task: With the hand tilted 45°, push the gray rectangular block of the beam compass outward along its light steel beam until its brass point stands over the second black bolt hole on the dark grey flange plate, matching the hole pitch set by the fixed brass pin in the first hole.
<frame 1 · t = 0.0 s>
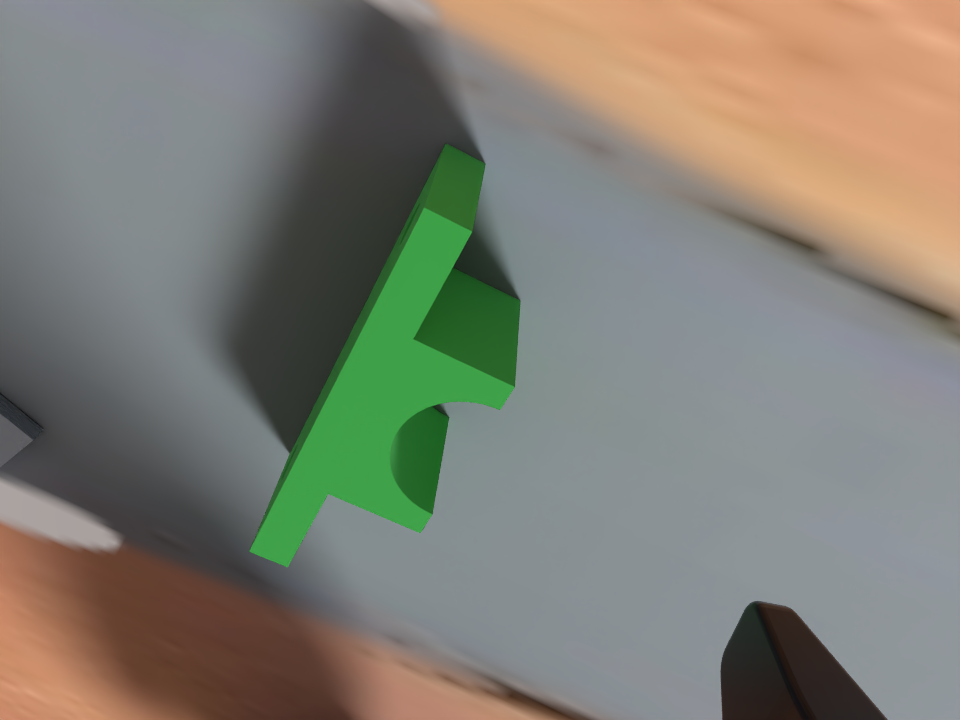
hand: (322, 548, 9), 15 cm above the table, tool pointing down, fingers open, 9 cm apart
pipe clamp: (415, 338, 25), on the table
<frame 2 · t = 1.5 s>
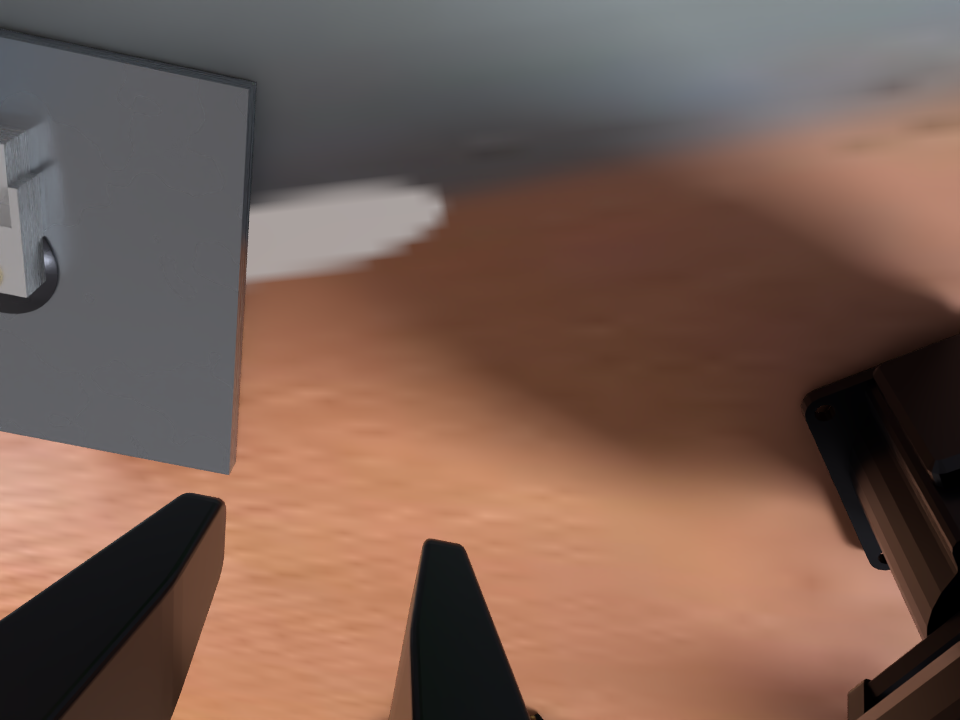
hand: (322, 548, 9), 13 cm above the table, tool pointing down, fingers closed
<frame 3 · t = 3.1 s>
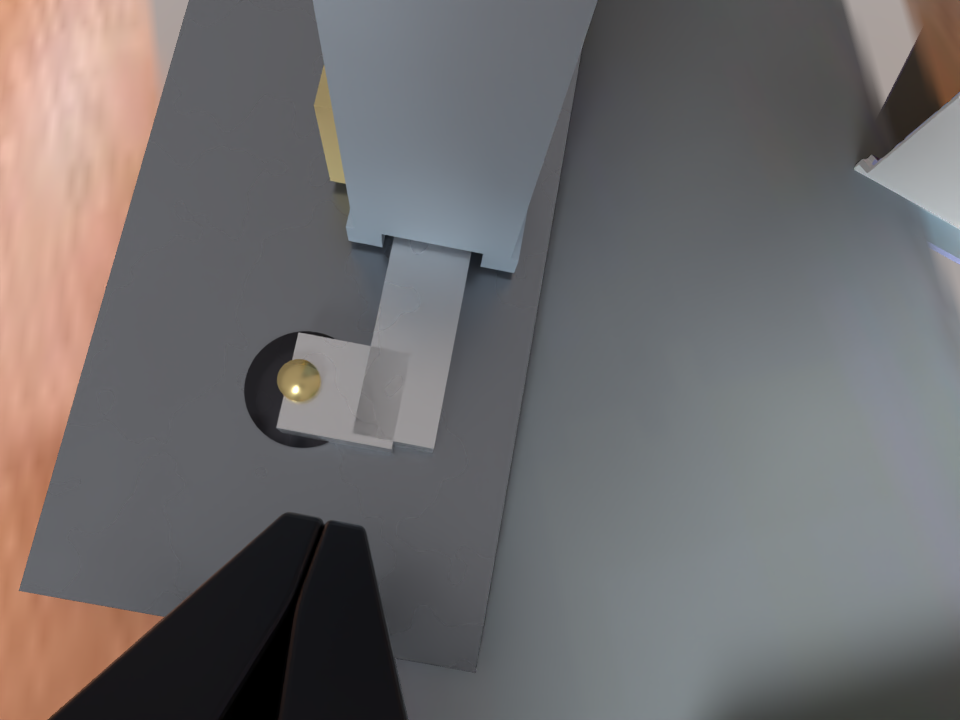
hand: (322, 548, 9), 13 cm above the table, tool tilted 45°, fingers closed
gray rectangular block: (437, 61, 18), point 7 cm above the table, slide at 0.0 cm
flange plate: (347, 216, 24), on the table
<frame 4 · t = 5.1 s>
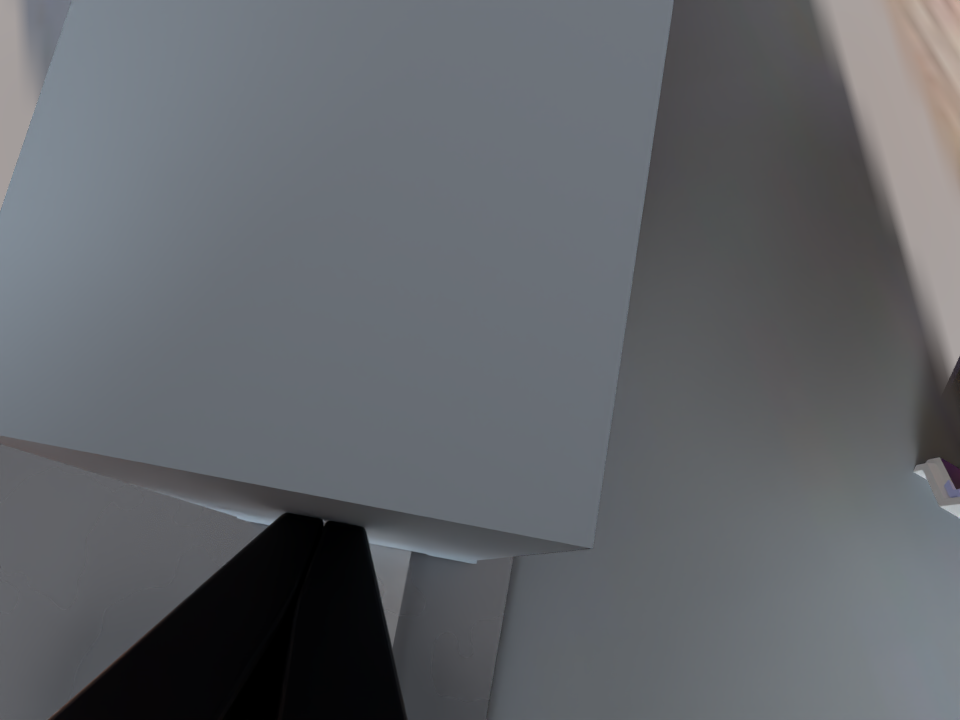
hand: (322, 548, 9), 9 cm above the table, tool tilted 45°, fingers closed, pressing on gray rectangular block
gray rectangular block: (340, 370, 12), point 7 cm above the table, slide at 1.7 cm, touching gripper
flange plate: (230, 557, 17), on the table
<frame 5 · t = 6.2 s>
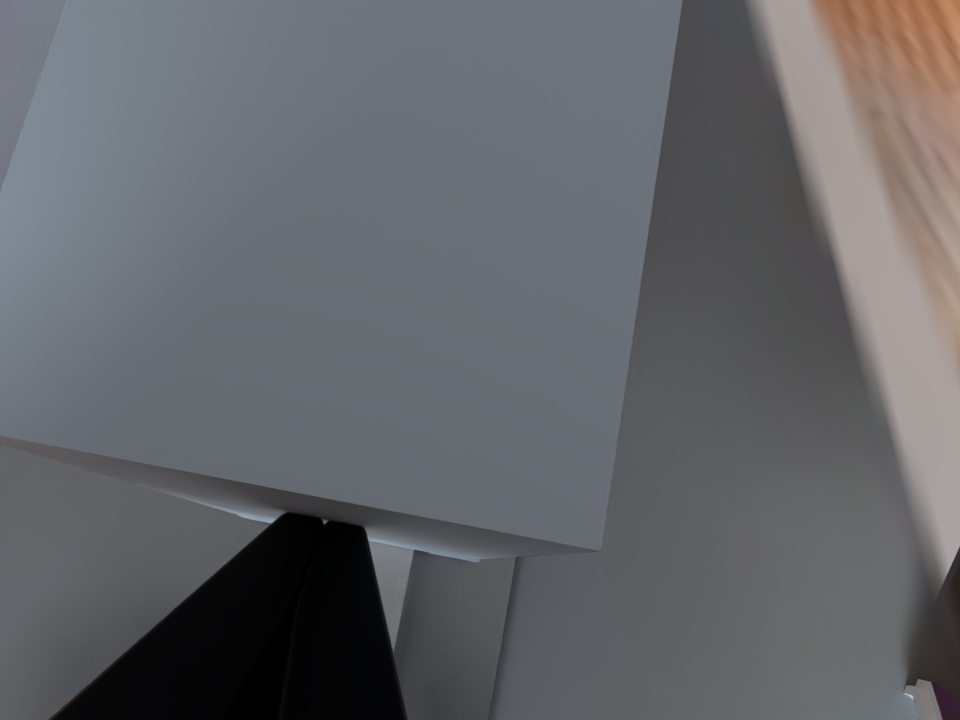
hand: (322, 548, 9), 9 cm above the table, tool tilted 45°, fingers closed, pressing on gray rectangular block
gray rectangular block: (343, 368, 11), point 7 cm above the table, slide at 6.3 cm, touching gripper
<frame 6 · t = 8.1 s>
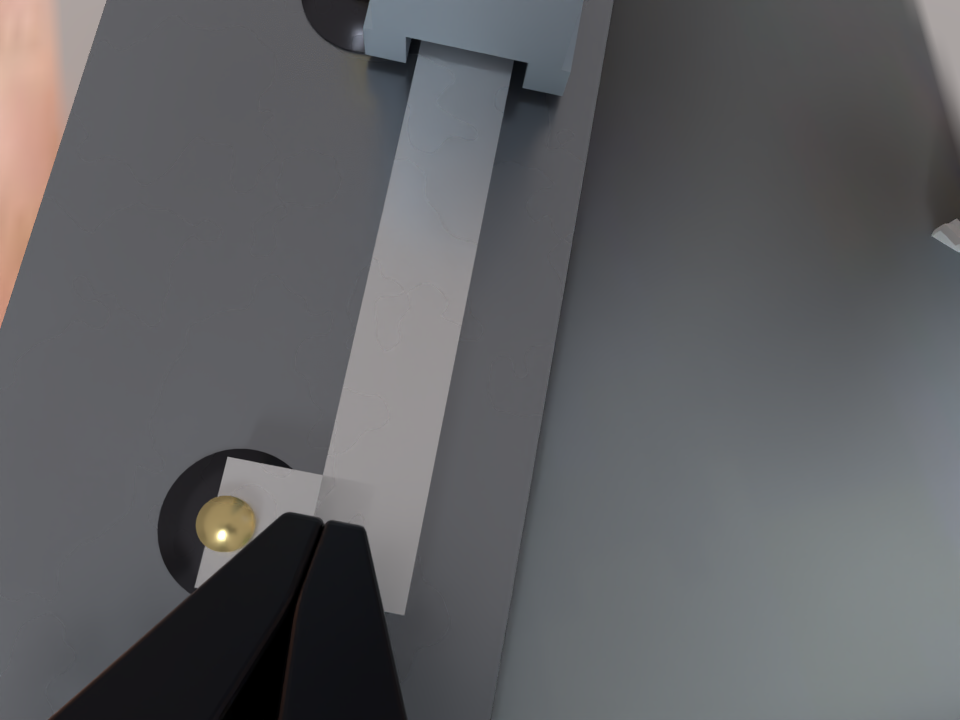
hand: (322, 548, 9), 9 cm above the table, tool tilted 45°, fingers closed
flange plate: (300, 293, 19), on the table
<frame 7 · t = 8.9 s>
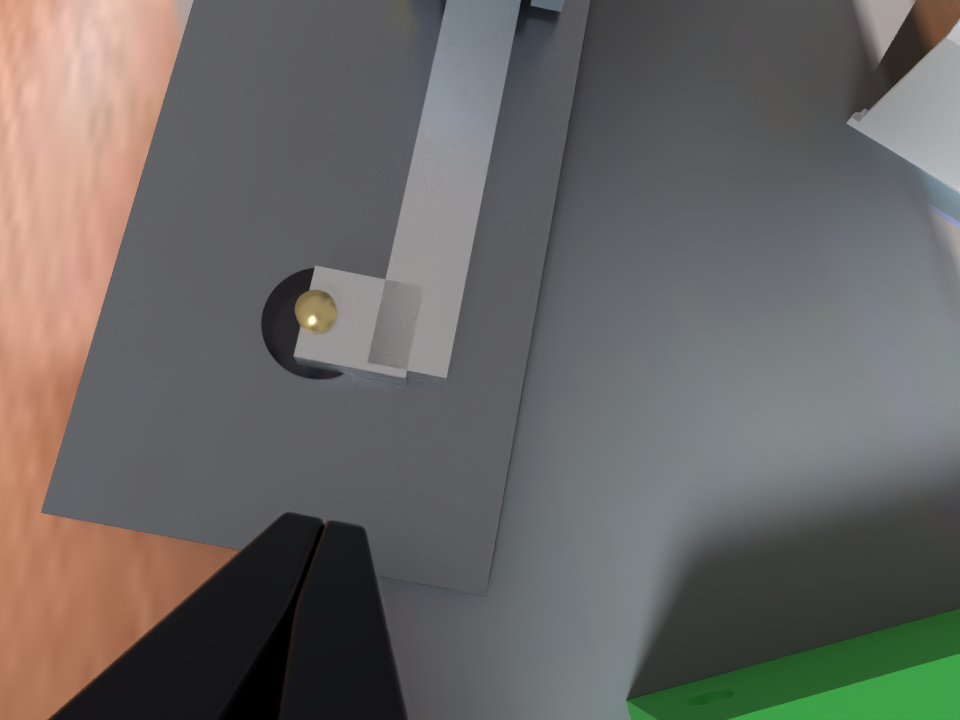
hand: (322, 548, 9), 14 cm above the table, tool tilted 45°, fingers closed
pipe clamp: (841, 711, 23), on the table
flange plate: (361, 160, 25), on the table
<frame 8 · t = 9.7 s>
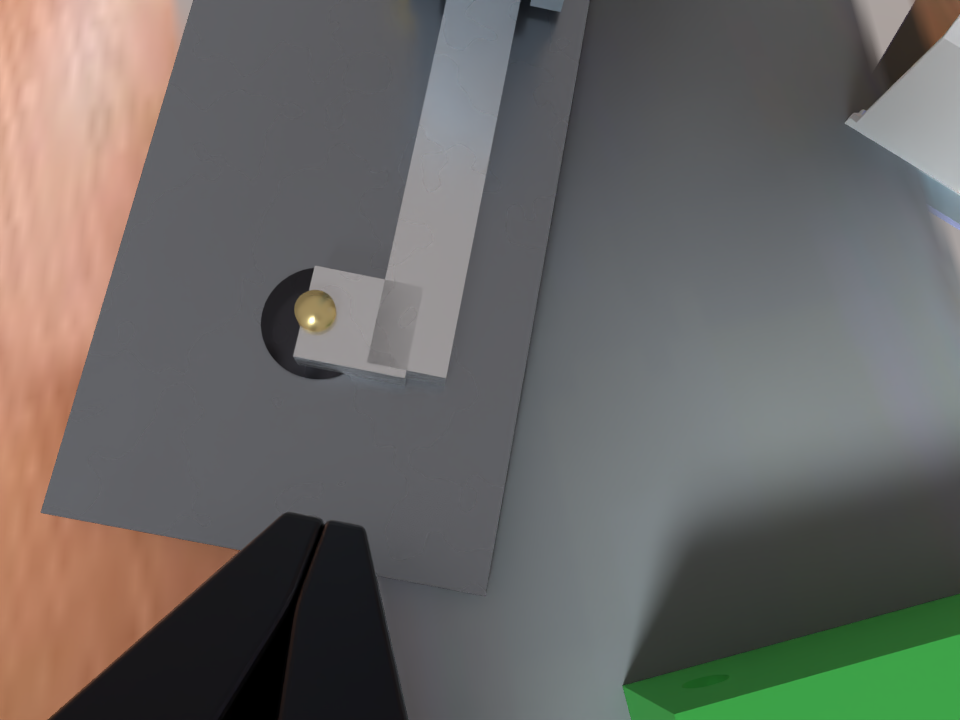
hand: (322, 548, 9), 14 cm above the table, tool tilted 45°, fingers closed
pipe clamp: (836, 697, 23), on the table
flange plate: (361, 160, 25), on the table
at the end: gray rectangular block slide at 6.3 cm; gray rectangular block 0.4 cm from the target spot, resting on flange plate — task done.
